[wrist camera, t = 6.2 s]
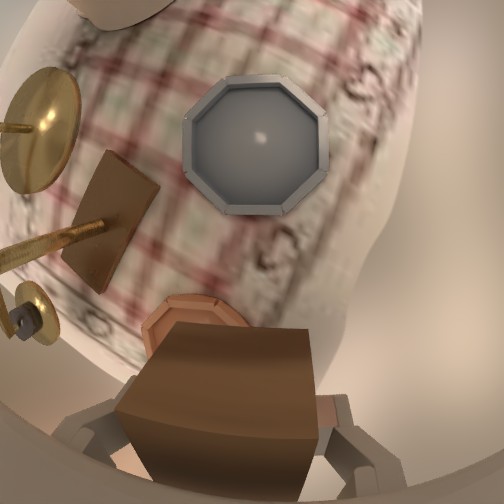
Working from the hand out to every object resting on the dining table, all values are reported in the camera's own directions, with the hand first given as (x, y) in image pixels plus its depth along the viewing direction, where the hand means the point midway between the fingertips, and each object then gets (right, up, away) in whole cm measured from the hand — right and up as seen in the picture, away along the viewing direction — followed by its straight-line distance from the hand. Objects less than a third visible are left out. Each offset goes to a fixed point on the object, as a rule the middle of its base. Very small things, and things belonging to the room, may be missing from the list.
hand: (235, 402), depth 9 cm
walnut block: (0, 0, +2) cm, 2 cm away
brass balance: (-15, +8, +17) cm, 24 cm away
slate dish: (+1, +15, +13) cm, 20 cm away
